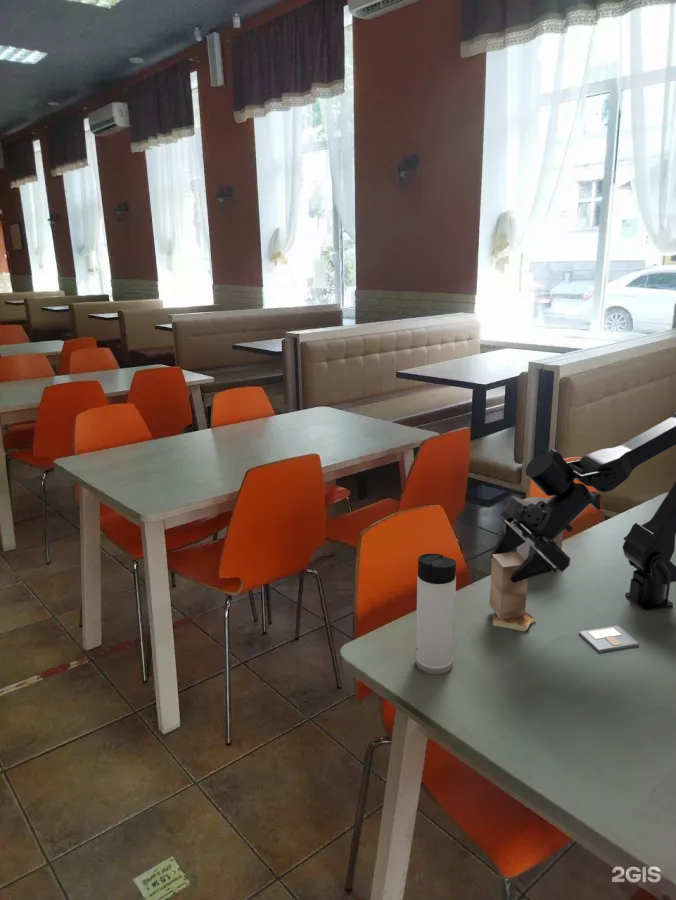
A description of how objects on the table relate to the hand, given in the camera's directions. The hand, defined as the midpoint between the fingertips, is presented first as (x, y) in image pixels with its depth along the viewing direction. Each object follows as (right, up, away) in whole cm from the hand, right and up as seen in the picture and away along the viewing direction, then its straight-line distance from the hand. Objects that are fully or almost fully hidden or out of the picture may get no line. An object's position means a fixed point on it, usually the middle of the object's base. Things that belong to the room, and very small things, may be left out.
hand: (501, 569), depth 124 cm
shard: (+1, -10, +3) cm, 11 cm away
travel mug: (-14, -14, -11) cm, 23 cm away
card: (+18, -12, -5) cm, 22 cm away
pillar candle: (+14, -3, +26) cm, 30 cm away
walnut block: (+2, -8, +3) cm, 9 cm away
